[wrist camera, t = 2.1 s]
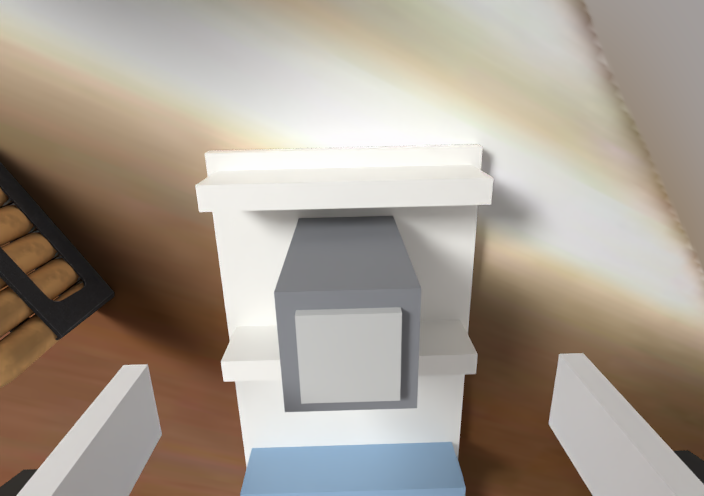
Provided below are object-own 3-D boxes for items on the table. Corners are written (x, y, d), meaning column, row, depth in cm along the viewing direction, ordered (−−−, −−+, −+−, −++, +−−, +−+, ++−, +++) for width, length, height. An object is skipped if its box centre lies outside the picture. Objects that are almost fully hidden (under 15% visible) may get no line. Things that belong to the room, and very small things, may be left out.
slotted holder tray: (210, 150, 23) (180, 164, 19) (477, 144, 23) (507, 156, 19) (262, 553, 33) (250, 620, 29) (446, 546, 34) (461, 613, 29)
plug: (298, 218, 23) (272, 297, 15) (393, 215, 23) (423, 293, 15) (304, 302, 25) (283, 419, 16) (391, 300, 25) (418, 415, 16)
